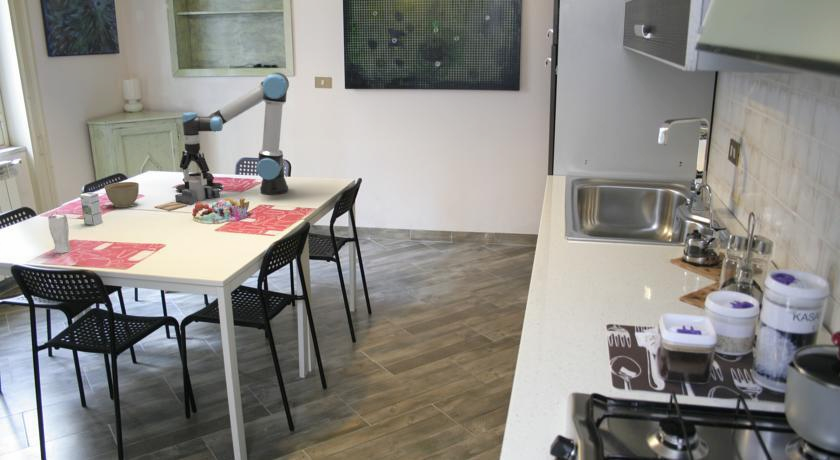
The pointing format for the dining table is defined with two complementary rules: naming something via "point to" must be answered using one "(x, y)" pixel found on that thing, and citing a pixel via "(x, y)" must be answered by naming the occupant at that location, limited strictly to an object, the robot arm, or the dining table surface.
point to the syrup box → (91, 208)
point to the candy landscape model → (221, 211)
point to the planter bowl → (122, 193)
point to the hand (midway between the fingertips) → (195, 183)
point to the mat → (171, 206)
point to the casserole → (209, 176)
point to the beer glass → (59, 232)
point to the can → (197, 187)
